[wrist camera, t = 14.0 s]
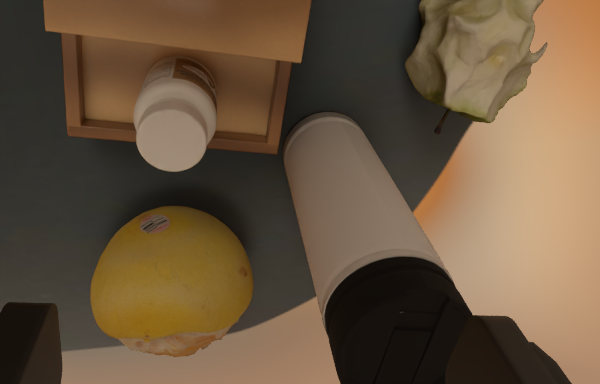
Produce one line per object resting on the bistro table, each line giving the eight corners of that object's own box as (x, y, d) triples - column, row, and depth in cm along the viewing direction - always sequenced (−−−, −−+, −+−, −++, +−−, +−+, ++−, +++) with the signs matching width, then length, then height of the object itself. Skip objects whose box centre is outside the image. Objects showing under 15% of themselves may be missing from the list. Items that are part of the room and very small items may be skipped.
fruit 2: (425, 115, 39) (443, 165, 32) (378, 0, 35) (388, 28, 28) (550, 64, 36) (598, 105, 29) (515, -68, 32) (562, -55, 25)
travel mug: (273, 185, 38) (319, 421, 21) (291, 104, 35) (361, 303, 18) (351, 195, 40) (452, 422, 23) (375, 117, 37) (513, 314, 20)
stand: (272, 135, 36) (282, 175, 31) (79, 116, 34) (54, 157, 28) (300, -48, 30) (317, -35, 25) (69, -88, 28) (36, -83, 23)
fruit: (78, 219, 38) (38, 316, 29) (209, 160, 37) (207, 243, 28) (152, 308, 43) (137, 412, 34) (268, 258, 42) (281, 352, 33)
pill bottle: (230, 97, 32) (234, 151, 26) (175, 134, 33) (165, 195, 26) (187, 39, 30) (179, 81, 24) (129, 79, 31) (105, 131, 24)
